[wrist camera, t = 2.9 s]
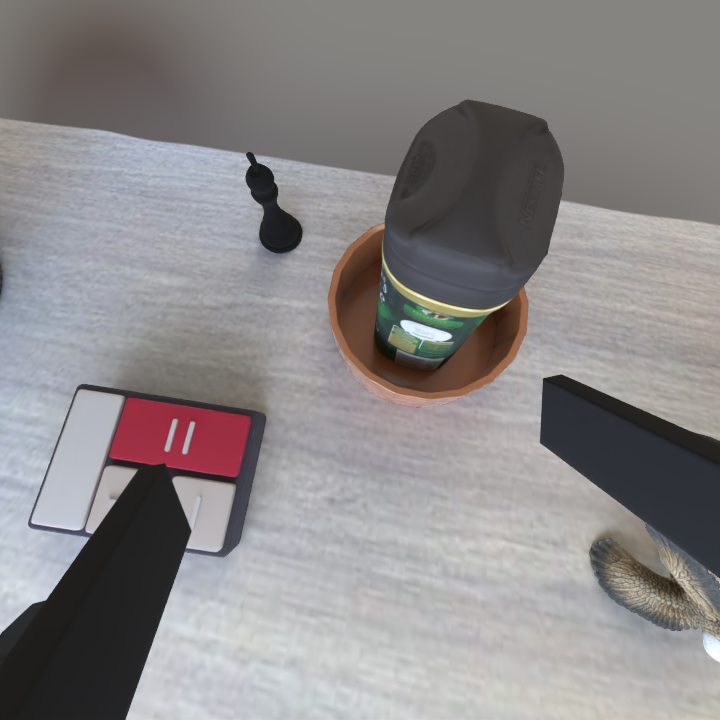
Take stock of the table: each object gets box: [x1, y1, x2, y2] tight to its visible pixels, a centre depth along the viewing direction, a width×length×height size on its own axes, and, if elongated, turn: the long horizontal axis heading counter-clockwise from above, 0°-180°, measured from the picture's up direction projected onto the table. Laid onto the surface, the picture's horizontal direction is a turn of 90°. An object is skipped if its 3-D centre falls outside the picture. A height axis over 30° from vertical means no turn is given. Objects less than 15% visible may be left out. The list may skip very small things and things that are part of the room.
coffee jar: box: [374, 100, 564, 370], centre depth 23 cm, size 10×8×19 cm
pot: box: [328, 222, 528, 408], centre depth 30 cm, size 16×16×6 cm
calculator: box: [28, 384, 266, 557], centre depth 27 cm, size 11×4×15 cm
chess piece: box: [246, 152, 302, 253], centre depth 30 cm, size 4×4×10 cm
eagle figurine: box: [590, 524, 720, 662], centre depth 24 cm, size 8×7×9 cm
